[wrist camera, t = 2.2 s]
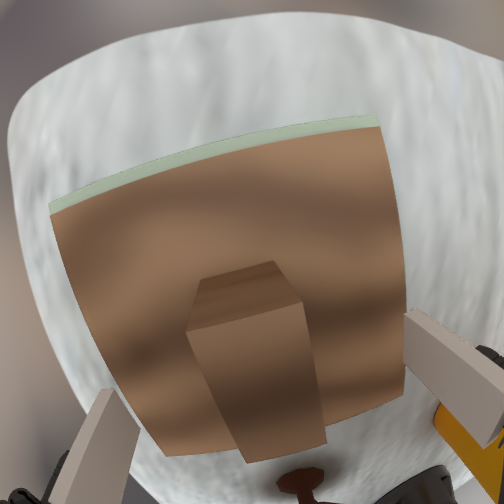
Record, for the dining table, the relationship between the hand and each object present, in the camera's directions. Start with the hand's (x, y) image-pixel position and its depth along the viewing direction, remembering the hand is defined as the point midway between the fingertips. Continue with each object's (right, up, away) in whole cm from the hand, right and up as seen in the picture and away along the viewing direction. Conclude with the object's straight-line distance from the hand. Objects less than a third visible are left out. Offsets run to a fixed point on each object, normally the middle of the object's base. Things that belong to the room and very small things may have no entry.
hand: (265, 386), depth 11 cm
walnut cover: (-1, +1, +7) cm, 7 cm away
